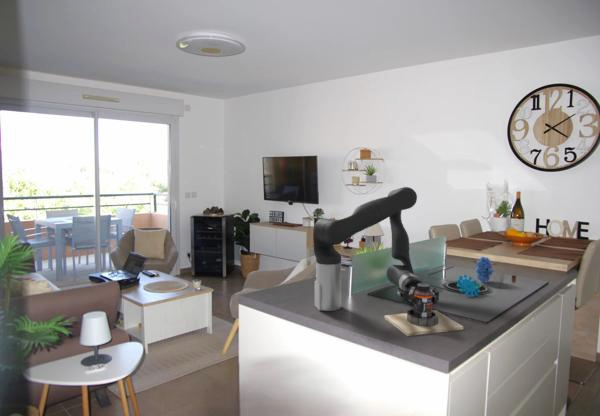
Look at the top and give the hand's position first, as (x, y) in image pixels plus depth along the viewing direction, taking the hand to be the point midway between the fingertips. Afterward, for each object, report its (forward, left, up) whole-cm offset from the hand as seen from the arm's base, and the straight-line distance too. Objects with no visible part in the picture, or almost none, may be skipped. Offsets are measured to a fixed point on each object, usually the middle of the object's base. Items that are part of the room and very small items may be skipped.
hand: (425, 301), depth 140 cm
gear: (+36, +25, -9) cm, 45 cm away
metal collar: (0, +2, -9) cm, 9 cm away
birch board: (0, +2, -9) cm, 9 cm away
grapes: (+53, +38, -9) cm, 66 cm away
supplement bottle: (+1, +2, -7) cm, 7 cm away
